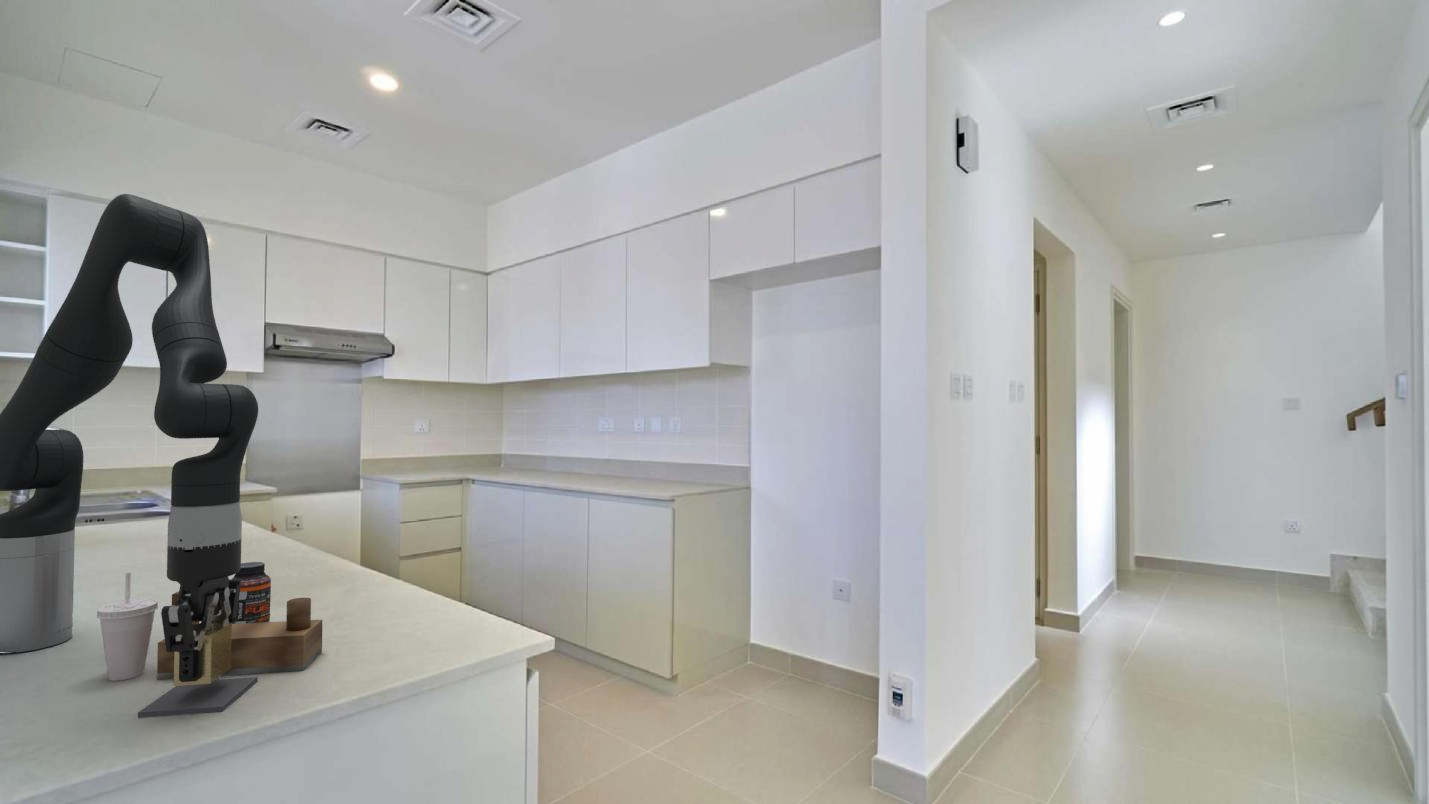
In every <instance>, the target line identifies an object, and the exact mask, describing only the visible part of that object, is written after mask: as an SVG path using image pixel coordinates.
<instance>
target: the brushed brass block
mask: <svg viewBox="0 0 1429 804" xmlns="http://www.w3.org/2000/svg"><path fill="white" fill-rule="evenodd" d="M193 633H194V640H195V635H196V631H193ZM176 640H177V636H176ZM231 641H232V623H224V624H220V623H213V624H212V623H211V628H210V629H209V630H207V631H206V632H205V635H204V641H203V646H202V649H203V650H202V677H201V678H200V679H198V680H197V681H192V682H181V681H180V680H179V652H174V679H173V686H174V687H175V686H180V685H195V684H210V683H212V682H213V681H214V680H218V679H219V678H220V677H221V675H222V674H224V673H225V672H226V671H228V670H229V669H230V668H231Z"/></svg>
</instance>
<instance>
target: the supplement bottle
mask: <svg viewBox="0 0 1429 804" xmlns="http://www.w3.org/2000/svg"><path fill="white" fill-rule="evenodd" d="M265 566H266V565H265V562H263V561H250V562H249V561H248V562H241V569H240V570H239V572H237V573H236V574H234V576H232V577H231V579H241V587H240V595H239V602H238V610H237V617H236V622H235V623H234V624H241V623H262V622H271V621H270V619H271V600H272V599H271V588H272V584H271V582H272V581H271V580H272V578H271V576H270V575H267V574H266V572H265V569H266V568H265Z"/></svg>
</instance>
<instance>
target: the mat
mask: <svg viewBox="0 0 1429 804" xmlns="http://www.w3.org/2000/svg"><path fill="white" fill-rule="evenodd" d="M258 681H259V677H258V676H254V677H253V676H252V677H237V678H236V677H235V678H222V679H219V678H217V679H216V680H214V681H213V682H212V683H210V684H195V685H180V686H174V687H172V688H171V689H170V690H168V691H166V692H165V693H164V694H163V695H161V696H160V697H158V698H157V699H155V700H154V701H152V702H151V703H150V704H148V705H146V706H145V707H144V708H142V709H140V711H138V712H137V718H149V717H151V718H152V717H162V716H164V717H165V716H175V715H176V716H178V715H190V714H205V713H217V712H224V711H225V710H226V709H227V708H228V707H229V706H231V705H232V704H234V702H236V701H237V700H238V699H240V697H241V696H243V695H244V693H246V692H247V691H248V690H250V689H251V688H252V687H253V686H254V685H256V683H257V682H258Z"/></svg>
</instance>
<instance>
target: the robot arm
mask: <svg viewBox="0 0 1429 804" xmlns="http://www.w3.org/2000/svg"><path fill="white" fill-rule="evenodd" d="M129 262H130V263H132V264H137V265H141V266H145V267H149V268H151V269H156V270H160V271H164V272H169V273H171V274H172V276H173V277H174V280H175V282H176V283H175V284H176V286H175V288H174V289H173V290H172V292H171V293H170V294H169V295H168V296H167V297H166V299H164V300H163V302H162V303H161V304H160V305H159V306H158V307H157V310H156V311H155V313H154V316H153V319H152V323H151V334H152V341H153V343H154V344H153V345H154V347H155V352H156V355H157V359H158V362H159V372H160V373H159V385H158V392H157V396H156V401H155V404H154V410H153V418H154V422H155V425H156V426H157V428H158V430H160V432H162V433H163V434H165V435H166V436H167V437H170V438H173V439H182V440H183V439H184V440H185V439H186V440H187V439H189V440H190V439H218V440H217V442H216V444H215V445H214V447H213V448H212V449H211V450H210V451H208V452H206V453H204V454H203V453H202V454H200V455H195V456H192V457H186V458H184V459H183V458H182V459H180V460H178V461H176V462H175V463H174V464H173V467H172V469H171V481H170V483H171V487H170V491H171V493H170V496H171V497H170V505H171V506H170V512H169V517H168V521H167V548H166V549H167V550H166V551H167V552H166V553H167V555H166V556H167V557H166V578H167V579H168V580H169V581H171V582H176V583H177V584H179V590H178V591H179V594H178V597H177V602H176V603H175V604H174V605H172V604H171V605H164V606H163V607H162V609H161V612H160V614H161V622H162V628H163V636H164V639H165V645H166V651H167V652H179V680H180V681H181V682H192V681H197V680H198V679H200V678H201V677H202V650H203V649H202V646H203V641H204V635H205V632H206V631H207V630H209V629H210V628H211V623H212V624H213V623H220V624H224V623H232V624H234V623H235V622H236V617H237V610H238V602H239V595H240V587H241V579H232V578H230V577H231V576H233V575H234V576H235V574H236V573H237V572H239V570H240V569H241V563H242V534H243V533H242V528H243V526H242V525H243V524H242V523H243V522H242V521H243V518H242V517H243V515H242V511H241V498H240V497H241V472H242V467H243V464H244V463H243V462H244V459H245V455H246V451H247V448H248V445H249V443H250V440H251V437H252V435H253V431H254V430H255V427H256V424H257V420H258V417H259V416H258V415H259V402H258V400H257V398H256V396H255V394H254V393H253V392H252V390H250V389H249V388H248V387H246V386H244V385H240V384H233V383H231V384H228V383H211V382H213V381H216V380H217V379H219V378H220V377H221V376H223V375H224V374H225V372H226V371H227V368H228V361H227V356H226V352H225V349H224V346H223V343H222V340H221V337H220V332H219V329H218V326H217V323H216V319H215V314H214V309H213V298H212V276H211V267H210V266H211V265H210V251H209V242H208V238H207V232H206V230H205V227H204V226H203V224H202V222H201V220H199V218H198V217H196V216H194V215H192V214H190V213H188V212H185V211H182V210H181V209H180V210H179V209H177V208H173V207H171V206H167V205H164V204H162V203H159V202H155V201H153V200H150V199H147V198H144V197H141V196H138V195H134V194H129V193H123V194H118V195H117V196H115V197H114V198H113V199H112V200H110V202H109V203H108V204H107V206H106V207H105V209H104V210H103V212H102V214H101V216H100V218H99V220H98V223H97V225H96V227H95V229H94V232H93V235H92V237H91V240H90V242H89V246H88V247H87V249H86V253H85V256H84V258H83V260H82V262H81V265H80V268H79V271H78V273H77V276H76V277H75V280H74V282H73V284H72V285H71V287H70V289H69V292H68V293H67V294H66V298H65V299H64V301H63V302H62V305H61V306H60V308H59V310H58V311H57V313H56V314H55V317H54V318H53V319H52V321H51V323H50V325H49V326H48V328H47V331H46V332H45V334H44V336H43V337H42V340H41V342H40V343H39V345H38V348H37V349H36V352H35V353H34V356H33V359H32V360H31V363H30V365H29V366H28V368H27V371H26V372H25V373H24V376H23V378H22V379H21V381H20V383H19V385H18V387H17V388H16V390H15V392H14V394H13V395H12V396H11V398H10V400H9V401H8V402H7V404H6V406H4V408H3V410H2V411H1V412H0V492H14V491H15V492H16V491H26V490H34V493H33V495H32V496H31V498H30V499H28V500H27V501H26V502H24V503H22V504H21V505H19V506H16V507H15V508H13V509H11V510H8V511H6V512H2V513H0V652H16V653H21V652H30V651H34V650H40V649H43V648H45V649H46V648H47V647H53V646H56V645H58V644H61V643H63V642H67V641H68V640H70V639H71V638H72V637H73V626H74V625H73V624H74V623H73V613H74V587H75V586H74V581H75V575H74V574H75V539H76V537H75V535H76V533H75V532H76V519H77V516H78V513H79V511H80V507H81V491H82V483H83V472H84V449H83V445H82V443H81V440H80V438H79V437H78V436H77V435H76V434H75V433H73V432H72V431H70V430H68V429H48V427H49V426H50V425H52V423H53V422H55V421H57V419H59V418H60V417H61V416H63V415H65V413H67V412H69V411H70V410H72V409H74V408H76V407H78V406H79V405H81V404H82V403H84V402H86V401H88V400H89V399H91V398H92V397H94V396H95V395H97V394H98V393H100V392H101V391H102V390H104V389H105V388H107V387H108V386H109V385H110V384H111V383H112V382H113V381H114V380H115V378H116V376H117V375H118V373H120V370H121V369H122V367H123V365H124V362H125V361H126V359H128V356H129V354H130V352H131V350H132V348H133V340H134V339H133V332H132V329H131V325H130V322H129V320H128V317H127V315H126V312H125V309H124V306H123V303H122V301H121V296H120V293H119V292H120V291H119V281H120V280H119V279H120V276H121V274H122V271H123V269H124V267H125V266H126V264H127V263H129ZM197 621H199V624H192V622H197ZM193 631H196V635H195V640H194V633H193ZM175 635H178V636H177V640H176V637H175Z"/></svg>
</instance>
